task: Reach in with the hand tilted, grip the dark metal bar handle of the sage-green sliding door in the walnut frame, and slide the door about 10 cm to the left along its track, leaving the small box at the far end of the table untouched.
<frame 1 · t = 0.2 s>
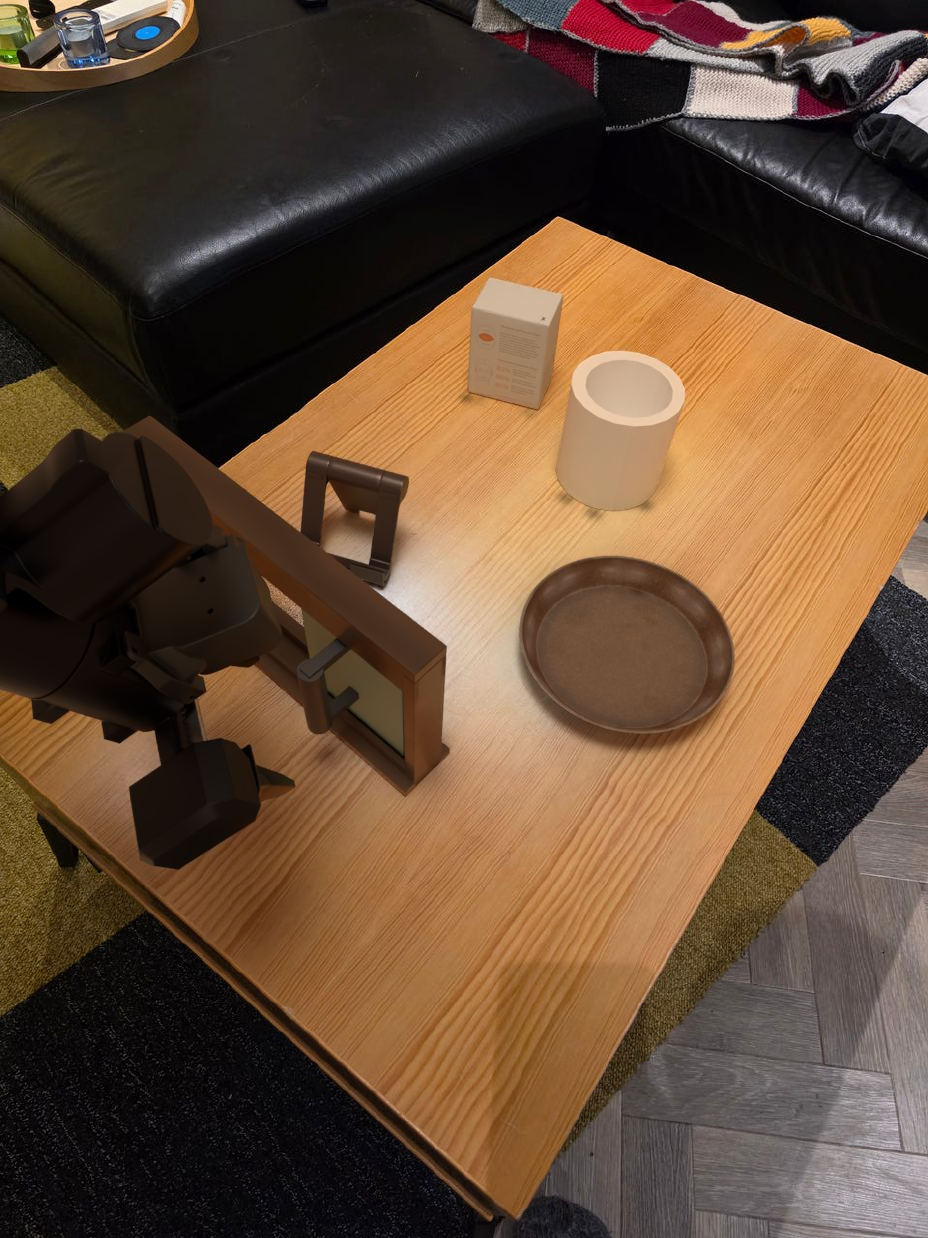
hand: (271, 722, 53), 14 cm above the table, tool tilted 35°, fingers open, 9 cm apart
door: (336, 690, 63), point 7 cm above the table, slide at 0.0 cm
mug: (611, 466, 88), on the table
tablet stand: (353, 546, 80), on the table
door frame: (295, 661, 72), on the table
small box: (509, 387, 94), on the table
plant saucer: (619, 658, 74), on the table
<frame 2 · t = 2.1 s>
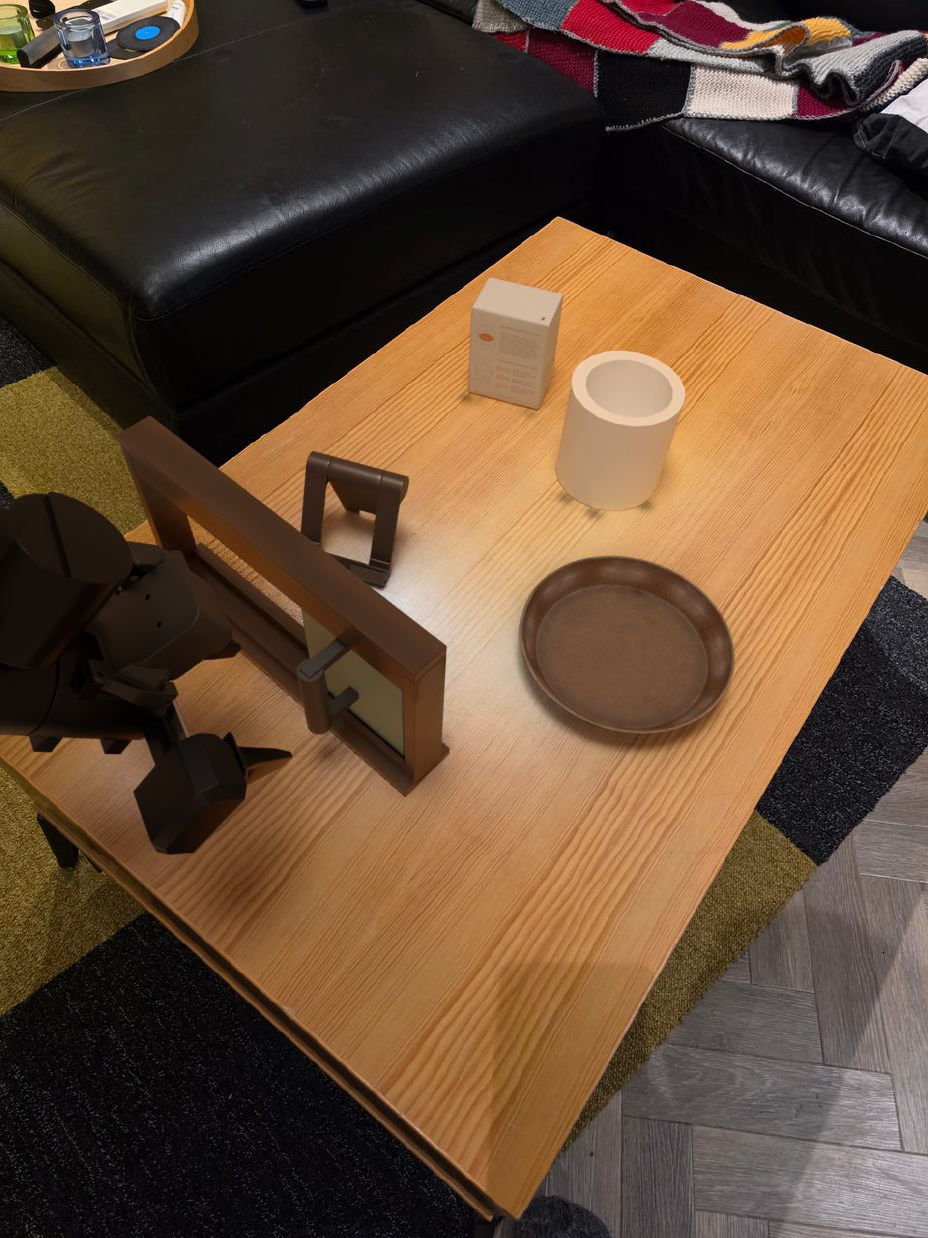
hand: (261, 702, 58), 11 cm above the table, tool tilted 45°, fingers open, 9 cm apart
nothing on the table moved.
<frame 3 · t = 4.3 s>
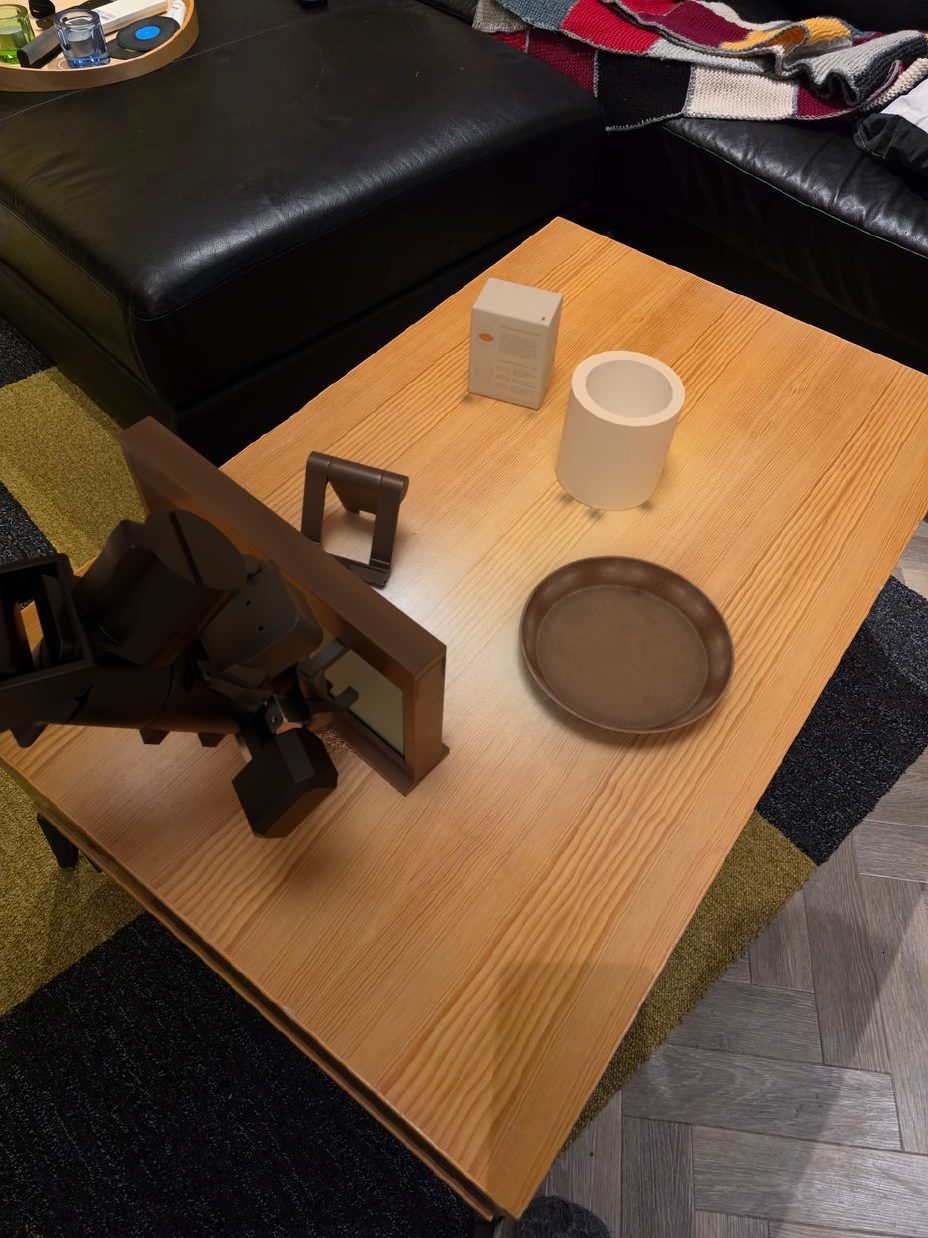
hand: (335, 700, 62), 7 cm above the table, tool tilted 45°, fingers closed on door, 2 cm apart
door: (336, 690, 63), point 7 cm above the table, slide at 0.0 cm, touching gripper
everything else where it was.
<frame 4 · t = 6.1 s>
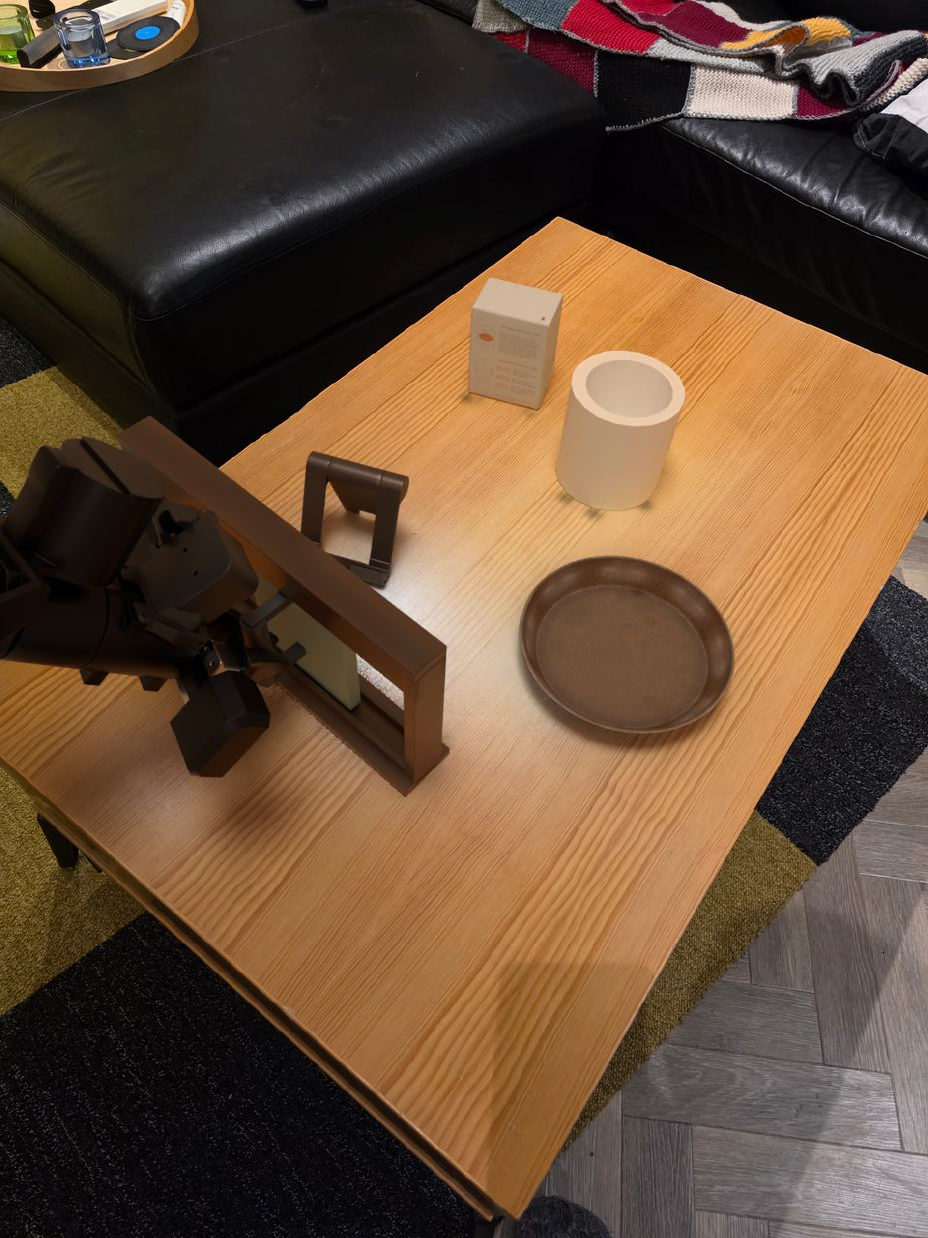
hand: (280, 654, 64), 7 cm above the table, tool tilted 45°, fingers closed on door, 2 cm apart
door: (282, 644, 65), point 7 cm above the table, slide at 5.8 cm, touching gripper
everything else where it was.
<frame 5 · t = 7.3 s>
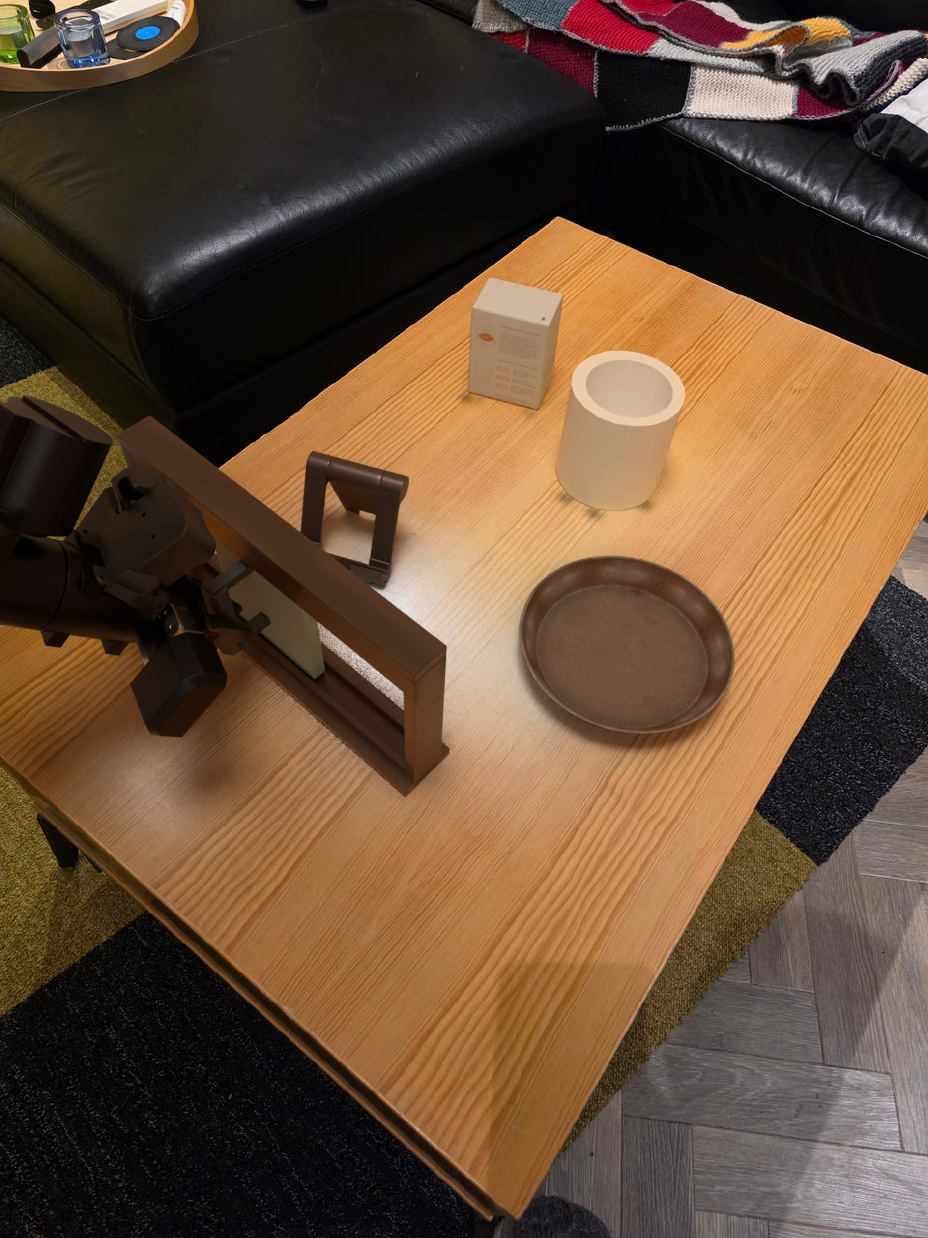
hand: (244, 622, 66), 7 cm above the table, tool tilted 45°, fingers closed on door, 2 cm apart
door: (245, 613, 66), point 7 cm above the table, slide at 9.9 cm, touching gripper
everything else where it was.
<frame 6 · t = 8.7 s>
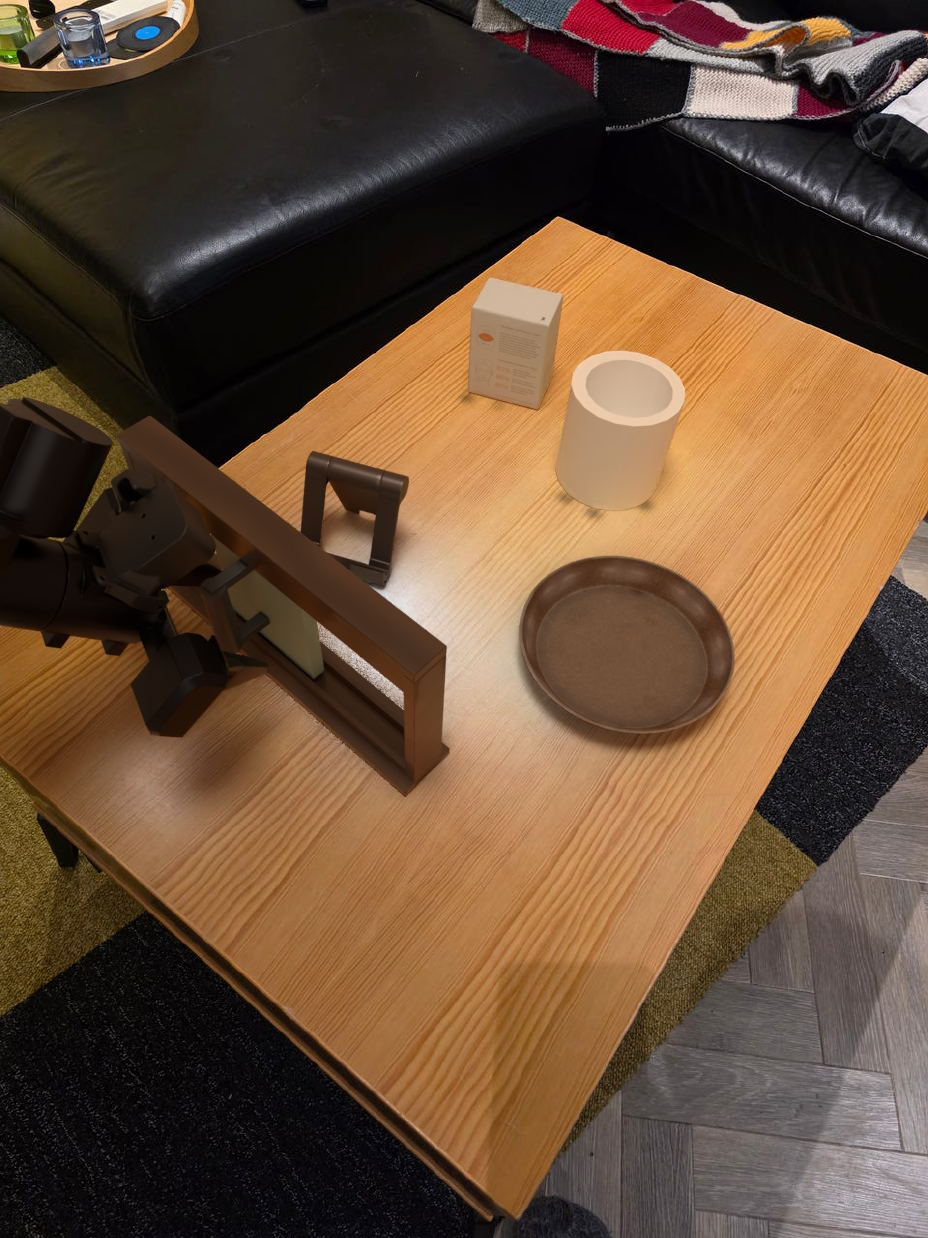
hand: (243, 622, 66), 7 cm above the table, tool tilted 45°, fingers open, 9 cm apart
door: (245, 612, 66), point 7 cm above the table, slide at 9.9 cm
everything else where it was.
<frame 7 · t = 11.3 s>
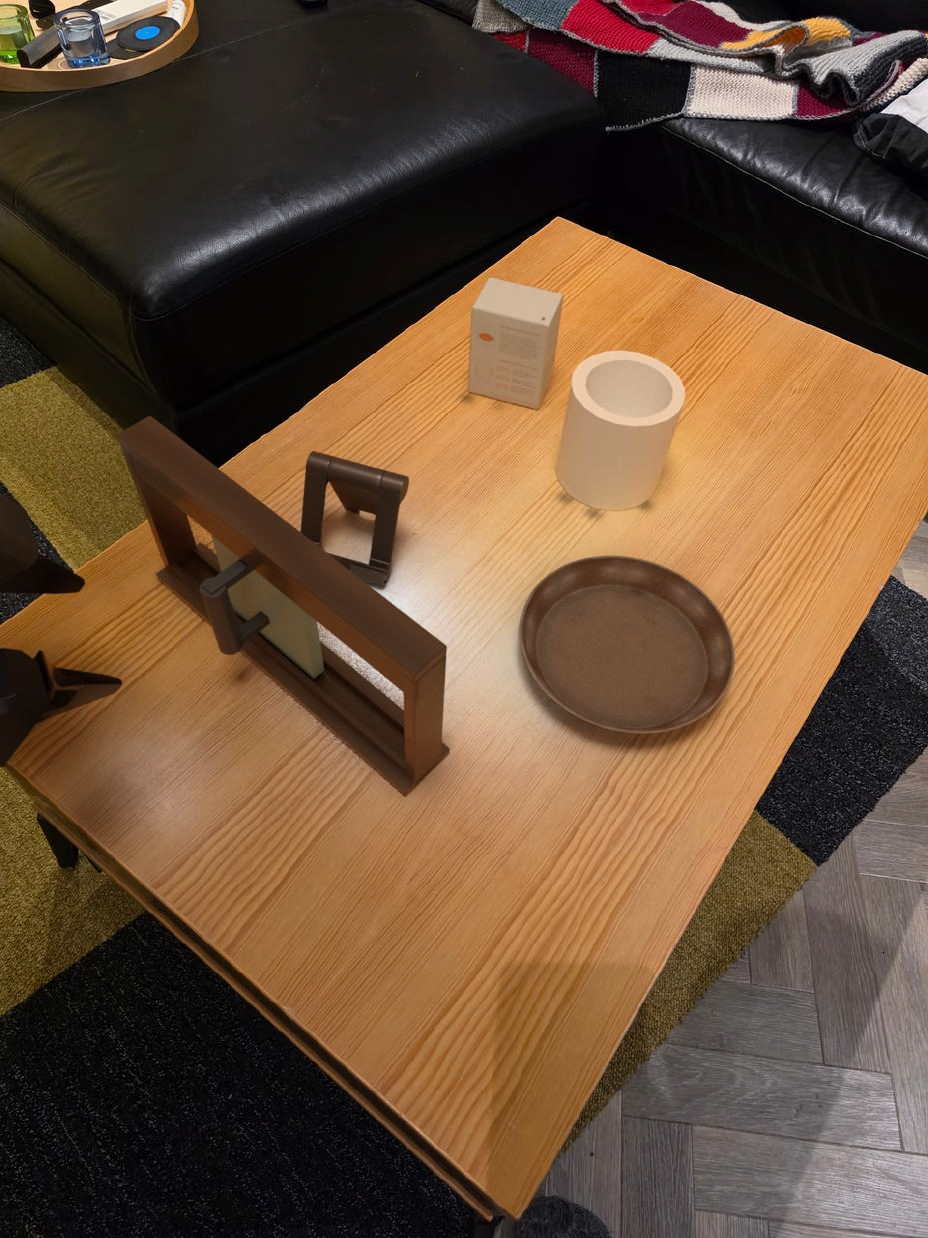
hand: (99, 634, 60), 11 cm above the table, tool tilted 45°, fingers open, 9 cm apart
nothing on the table moved.
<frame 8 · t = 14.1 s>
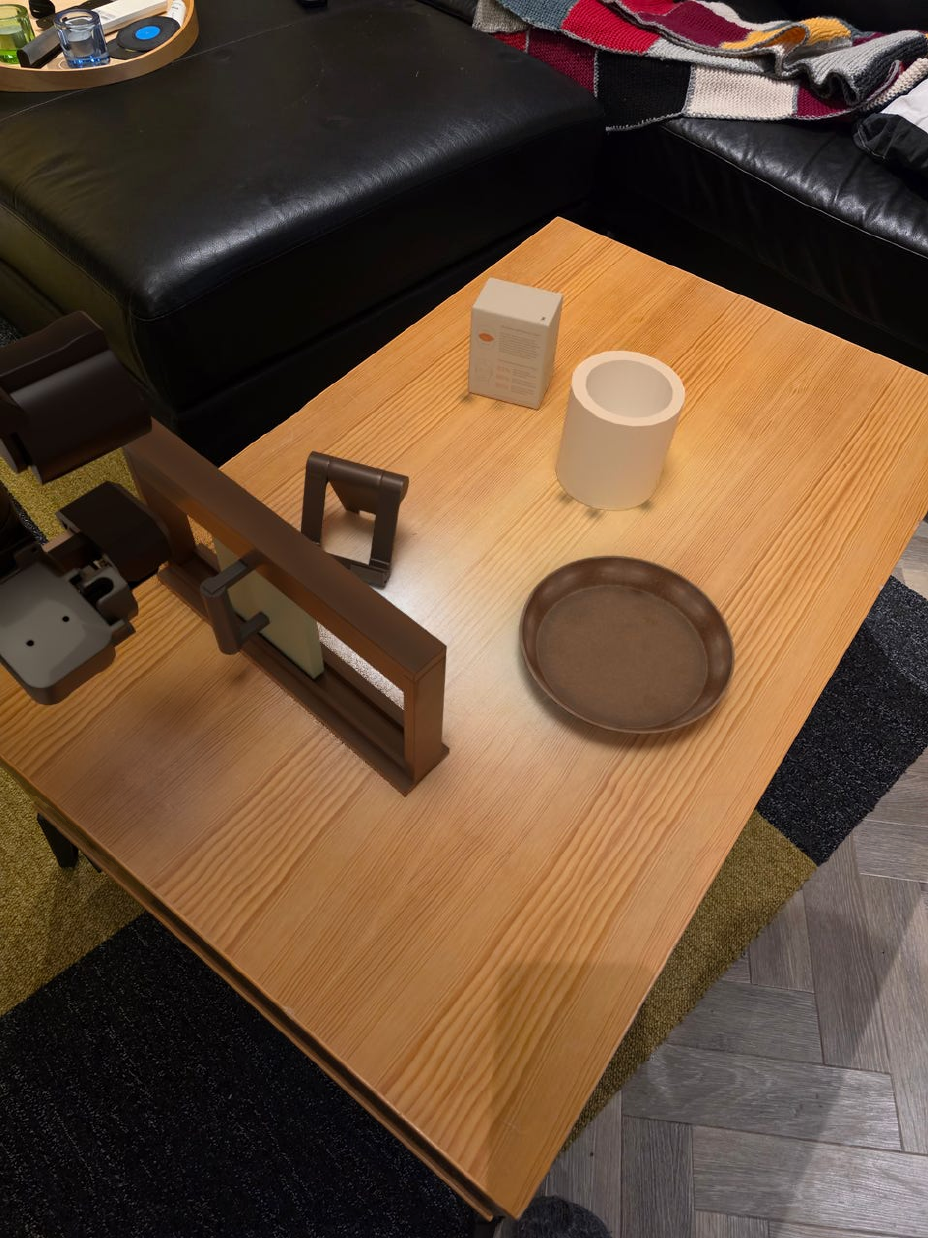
hand: (55, 682, 55), 13 cm above the table, tool pointing down, fingers open, 9 cm apart
nothing on the table moved.
at the end: door slide at 9.9 cm; the gripper is holding nothing; small box moved 0.2 cm from its start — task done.
